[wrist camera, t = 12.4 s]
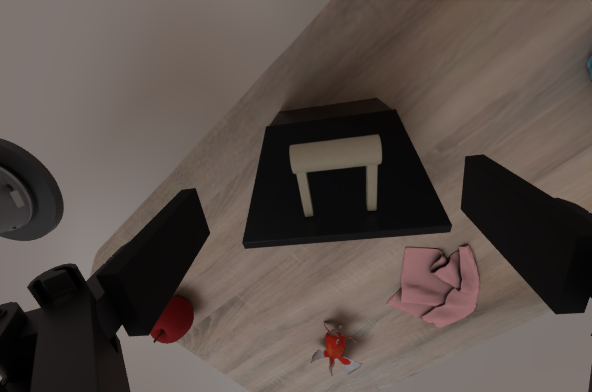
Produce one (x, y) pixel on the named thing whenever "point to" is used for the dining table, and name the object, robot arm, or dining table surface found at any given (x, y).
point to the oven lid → (341, 183)
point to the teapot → (590, 67)
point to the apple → (173, 321)
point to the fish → (336, 351)
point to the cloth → (437, 285)
